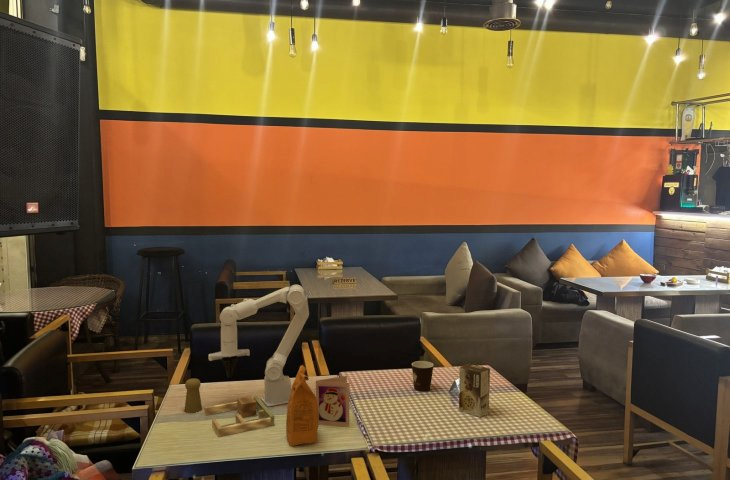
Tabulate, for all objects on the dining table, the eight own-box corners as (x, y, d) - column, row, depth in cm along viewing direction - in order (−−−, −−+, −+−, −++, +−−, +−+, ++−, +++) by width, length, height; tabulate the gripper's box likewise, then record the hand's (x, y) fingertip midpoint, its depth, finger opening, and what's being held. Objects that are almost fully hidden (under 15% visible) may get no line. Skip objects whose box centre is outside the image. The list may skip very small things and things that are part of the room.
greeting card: (314, 425, 178) (315, 381, 177) (319, 416, 185) (320, 374, 184) (348, 427, 176) (349, 383, 175) (352, 418, 184) (352, 376, 182)
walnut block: (251, 409, 191) (251, 396, 190) (256, 415, 185) (256, 401, 185) (237, 412, 188) (237, 398, 188) (242, 418, 183) (242, 404, 182)
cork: (196, 414, 186) (196, 383, 185) (180, 412, 187) (180, 381, 186) (205, 407, 192) (204, 377, 191) (189, 405, 193) (189, 376, 192)
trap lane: (256, 404, 195) (256, 396, 194) (274, 425, 178) (274, 416, 177) (204, 414, 186) (204, 405, 186) (218, 436, 169) (218, 427, 168)
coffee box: (489, 412, 190) (491, 368, 189) (480, 418, 185) (481, 372, 184) (467, 405, 196) (468, 362, 195) (457, 410, 192) (459, 366, 190)
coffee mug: (434, 393, 208) (434, 368, 207) (412, 392, 208) (412, 367, 207) (430, 382, 220) (431, 358, 219) (409, 382, 220) (410, 358, 219)
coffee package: (316, 428, 176) (316, 363, 174) (319, 446, 164) (319, 376, 162) (286, 430, 174) (285, 364, 172) (286, 448, 162) (286, 377, 160)
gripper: (245, 335, 201) (245, 370, 202) (206, 340, 194) (206, 376, 195) (251, 340, 195) (251, 376, 196) (210, 345, 188) (211, 382, 189)
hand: (229, 376), depth 195 cm, fingers closed
